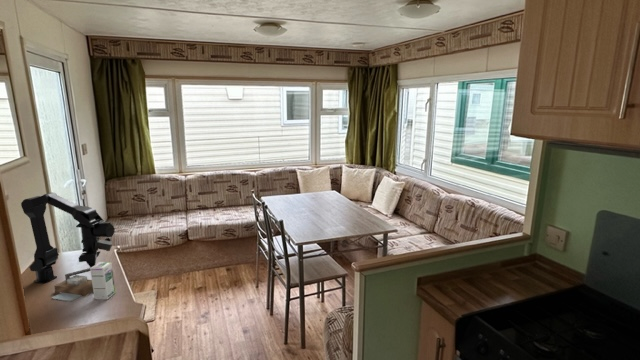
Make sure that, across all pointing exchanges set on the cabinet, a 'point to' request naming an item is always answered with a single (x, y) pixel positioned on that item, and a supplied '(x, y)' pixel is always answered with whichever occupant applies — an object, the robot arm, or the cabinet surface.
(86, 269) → the lever
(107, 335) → the cabinet surface
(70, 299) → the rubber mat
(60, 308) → the cabinet surface
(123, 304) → the cabinet surface
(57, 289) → the body
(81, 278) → the grey block
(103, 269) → the syrup box
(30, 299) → the cabinet surface
